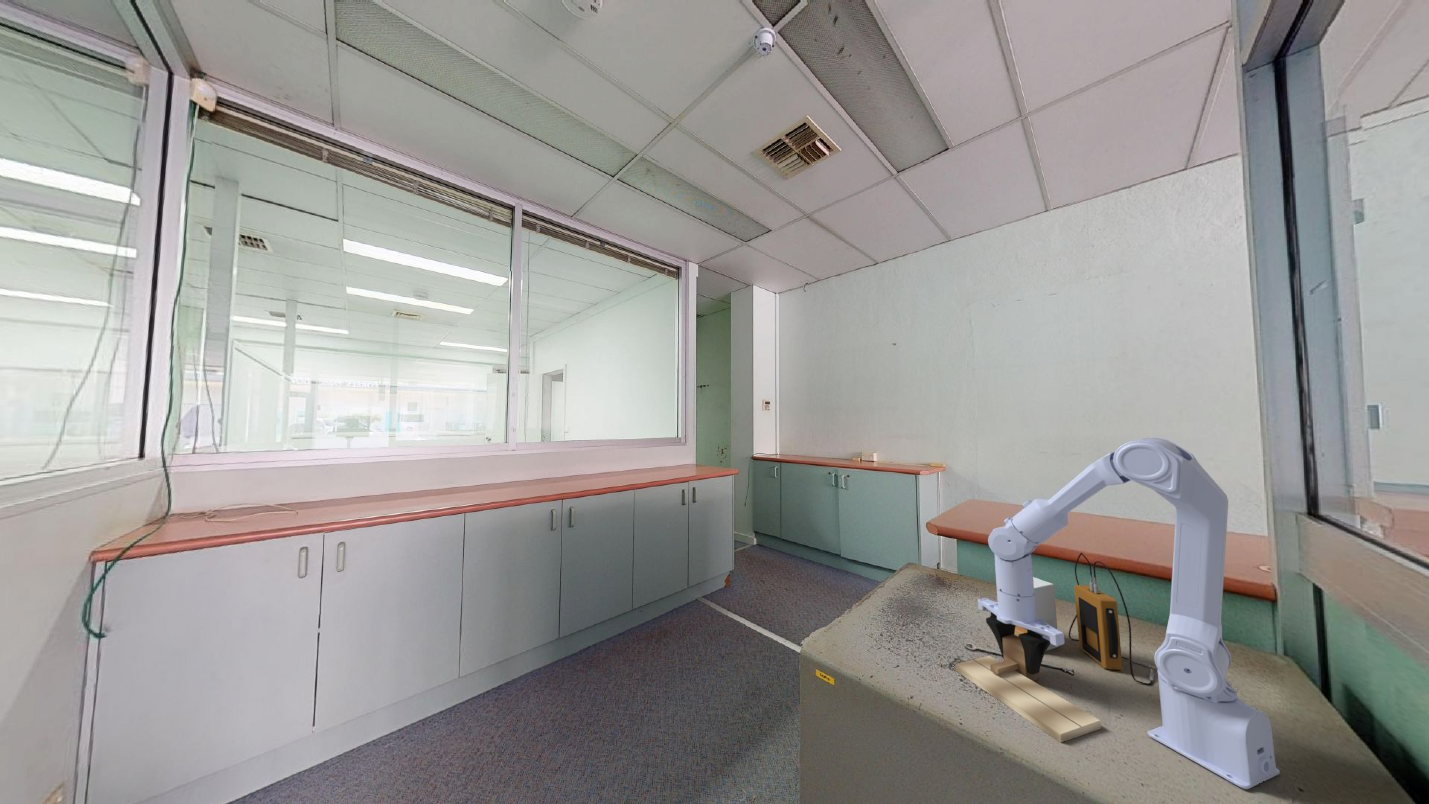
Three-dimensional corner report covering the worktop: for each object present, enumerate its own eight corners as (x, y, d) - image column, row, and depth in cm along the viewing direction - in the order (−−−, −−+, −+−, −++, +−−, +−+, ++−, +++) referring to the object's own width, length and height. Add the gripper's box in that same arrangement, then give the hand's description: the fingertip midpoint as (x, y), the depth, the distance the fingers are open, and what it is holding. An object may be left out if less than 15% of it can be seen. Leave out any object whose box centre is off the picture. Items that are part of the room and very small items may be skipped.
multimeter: (1190, 689, 68) (1178, 571, 69) (1121, 683, 70) (1111, 569, 71) (1121, 643, 83) (1112, 545, 84) (1066, 639, 85) (1058, 544, 86)
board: (1100, 728, 60) (1100, 720, 60) (1061, 742, 58) (1060, 733, 58) (989, 661, 78) (989, 655, 78) (955, 670, 75) (955, 664, 75)
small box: (999, 634, 87) (994, 574, 88) (1019, 629, 89) (1015, 570, 90) (1038, 654, 80) (1033, 588, 80) (1060, 648, 82) (1055, 583, 82)
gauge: (1038, 678, 72) (1035, 645, 73) (1005, 688, 70) (1003, 653, 70) (1016, 666, 76) (1013, 634, 76) (984, 675, 74) (982, 642, 74)
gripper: (964, 579, 80) (969, 648, 80) (1040, 611, 66) (1047, 694, 66) (991, 574, 82) (995, 641, 82) (1070, 604, 68) (1076, 685, 68)
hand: (1020, 665), depth 74 cm, fingers closed on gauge, 4 cm apart
